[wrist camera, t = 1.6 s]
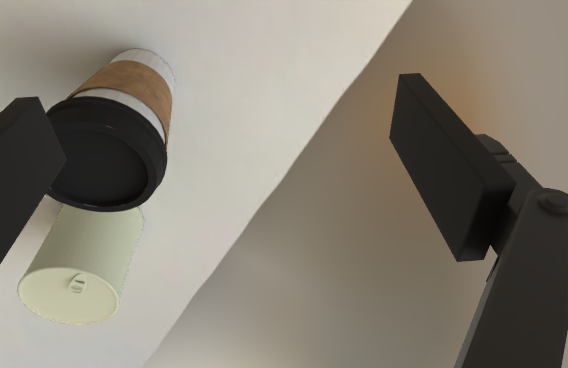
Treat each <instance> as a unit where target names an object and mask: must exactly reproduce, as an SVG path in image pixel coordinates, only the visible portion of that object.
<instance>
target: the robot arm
mask: <svg viewBox="0 0 568 368" xmlns="http://www.w3.org/2000/svg"><path fill="white" fill-rule="evenodd" d="M389 139H390V140H391V142H392V144H393V146H394V148H395V150H396V151H397V153H398V155H399V157H400V159H401V161H402V162H403V164H404V166H405V168H406V170H407V171H408V173H409V175H410V177H411V179H412V181H413V182H414V184H415V186H416V188H417V190H418V191H419V193H420V195H421V197H422V199H423V201H424V203H425V204H426V206H427V208H428V210H429V212H430V213H431V215H432V217H433V219H434V221H435V223H436V224H437V226H438V228H439V230H440V232H441V233H442V235H443V237H444V239H445V241H446V243H447V244H448V246H449V248H450V250H451V252H452V254H453V255H454V257H455V259H456V261H457V262H462V261H475V260H484V258H485V256H486V253H487V251H488V249H489V246H490V245H491V246H492V248H493V249H494V251H495V252H496V254H497V255H498V257H497V259H496V261H495V263H494V266H493V267H492V270H491V272H490V274H489V276H488V278H487V280H486V282H487V284H486V286H485V289H484V292H483V294H482V296H481V299H480V302H479V304H478V307H477V309H476V312H475V314H474V317H473V320H472V322H471V325H470V328H469V330H468V333H467V335H466V338H465V340H464V343H463V345H462V348H461V350H460V353H459V356H458V358H457V361H456V363H455V366H454V368H561V365H562V359H563V354H564V348H565V342H566V337H567V331H568V194H567V193H564V192H562V191H560V190H555V189H550V188H543V187H542V186H541V185H540V184H539V183H538V182H537V181H536V180H535V179H534V178H533V177H532V176H531V175H530V174H529V173H528V172H527V171H526V169H524V167H523V166H522V165H521V164H520V163H518V162H517V160H516V159H515V158H514V157H513V156H512V155H511V154H509V152H508V151H507V150H506V149H505V148H504V147H503V145H502V144H501V143H500V142H498V141H496V140H494V139H493V138H491V137H489V136H487V135H486V134H479V135H474V134H473V133H472V132H471V130H470V129H469V128H468V127H467V126H466V125H465V124H464V123H463V122H462V120H461V119H460V118H459V117H458V116H457V115H456V113H455V112H454V111H453V110H452V109H451V108H450V107H449V106H448V104H447V103H446V102H445V101H444V100H443V99H442V98H441V97H440V96H439V95H438V93H437V92H436V91H435V90H434V89H433V88H432V87H431V85H430V84H429V83H428V82H427V81H426V80H425V79H424V77H423V76H421V74H420V73H414V74H400V75H399V80H398V86H397V92H396V99H395V105H394V112H393V117H392V124H391V130H390V136H389ZM66 161H67V158H66V156H65V154H64V152H63V150H62V147H61V145H60V143H59V141H58V139H57V137H56V134H55V132H54V130H53V128H52V126H51V124H50V121H49V119H48V117H47V115H46V113H45V111H44V108H43V106H42V104H41V102H40V100H39V98H38V97H23V98H16V99H15V100H13V101H12V102H11V103H10V104H9V105H8V106H7V107H6V108H5V109H4V110H3V111H2V112H1V113H0V264H1V262H2V261H3V259H4V258H5V256H6V254H7V253H8V251H9V250H10V248H11V247H12V245H13V244H14V242H15V240H16V239H17V237H18V236H19V234H20V233H21V231H22V230H23V228H24V226H25V225H26V223H27V222H28V220H29V219H30V217H31V216H32V214H33V212H34V211H35V209H36V208H37V206H38V205H39V203H40V202H41V200H42V198H43V197H44V195H45V194H46V192H47V191H48V189H49V188H50V186H51V184H52V183H53V181H54V180H55V178H56V177H57V175H58V174H59V172H60V170H61V169H62V167H63V166H64V164H65V163H66Z"/></svg>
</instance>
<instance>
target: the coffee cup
mask: <svg viewBox="0 0 568 368" xmlns="http://www.w3.org/2000/svg"><path fill="white" fill-rule="evenodd" d="M174 88H175V82H174V76H173V73H172V71H171V69H170V67H169V66H168V65H167V63H166V62H165V61H164V60H163V59H162V58H160V57H159V56H157V55H156V54H154V53H152V52H150V51H146V50H143V49H130V50H126V51H123V52H122V53H120V54H119V55H117V56H116V57H115V58H114V59H113V60H112V61H111V62H110V63H108V64H107V65H106V66H105V67H103V68H102V69H101V70H100V71H98V72H97V73H96V74H95V75H94V76H92V77H91V78H90V79H89V80H88V81H86V82H85V83H84V84H83V85H82V86H80V87H79V88H78V89H77V90H75V91H74V92H73V93H72V94H71V95H69V96H68V98H67V99H66V100H63V101H61V102H59V103H58V104H56V105H54V106H53V107H51V108H50V109H49V111H48V112H47V113H46V115H47V117H48V119H49V121H50V124H51V126H52V128H53V130H54V132H55V134H56V137H57V139H58V141H59V143H60V145H61V147H62V150H63V152H64V154H65V156H66V158H67V161H66V163H65V164H64V166H63V167H62V169H61V170H60V172H59V174H58V175H57V177H56V178H55V180H54V181H53V183H52V184H51V186H50V188H49V189H48V191H47V192H46V194H47V195H49V196H50V197H52V198H53V199H55V200H57V201H59V202H61V203H64V204H66V205H69V206H72V207H75V208H78V209H83V210H87V211H94V212H121V211H126V210H130V209H133V208H135V207H137V206H139V205H141V204H143V203H144V202H145V201H147V200H148V199H149V197H150V196H151V195H152V194H153V192H154V191H155V189H156V188H157V187H158V186H159V185H160V183H161V182H162V179H163V177H164V175H165V170H166V166H167V151H166V149H167V143H168V135H169V126H170V118H171V110H172V100H173V94H174Z"/></svg>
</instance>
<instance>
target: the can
mask: <svg viewBox="0 0 568 368" xmlns="http://www.w3.org/2000/svg"><path fill="white" fill-rule="evenodd" d="M142 228H143V216H142V214H141V212H140V210H139V208H138V207H135V208H133V209H130V210H126V211H121V212H94V211H87V210H83V209H78V208H75V207H72V206H69V205H66V204H64V203H63V205H62V209H61V211H60V213H59V215H58V217H57V219H56V221H55V223H54V224H53V226H52V228H51V230H50V232H49V233H48V235H47V237H46V239H45V240H44V242H43V244H42V246H41V247H40V249H39V251H38V253H37V254H36V256H35V258H34V260H33V261H32V263H31V265H30V266H29V268H28V270H27V271H26V273H25V275H24V276H23V277H22V279H21V280H20V282H19V284H18V287H17V292H18V296H19V298H20V300H21V301H22V303H23V304H24V305H25V306H26V307H27V308H28V309H29V310H31V311H32V312H34V313H35V314H37V315H39V316H41V317H43V318H46V319H48V320H51V321H55V322H59V323H64V324H73V325H84V324H92V323H97V322H100V321H103V320H105V319H107V318H109V317H110V316H112V315H113V314H114V313H115V312H116V310H117V308H118V306H119V300H120V296H121V293H122V289H123V286H124V282H125V279H126V275H127V272H128V269H129V265H130V262H131V259H132V256H133V252H134V249H135V246H136V243H137V240H138V237H139V234H140V233H141V231H142Z"/></svg>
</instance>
